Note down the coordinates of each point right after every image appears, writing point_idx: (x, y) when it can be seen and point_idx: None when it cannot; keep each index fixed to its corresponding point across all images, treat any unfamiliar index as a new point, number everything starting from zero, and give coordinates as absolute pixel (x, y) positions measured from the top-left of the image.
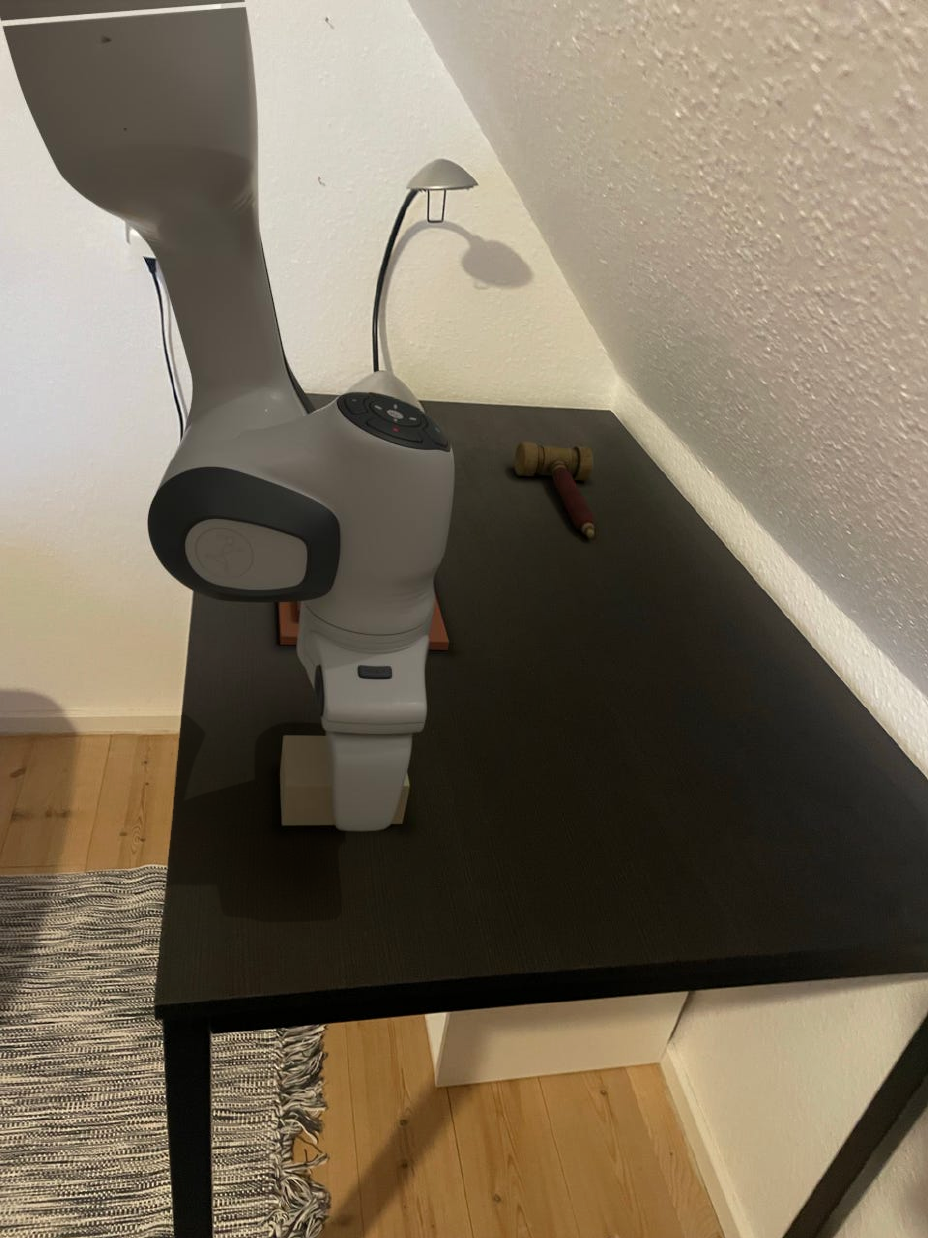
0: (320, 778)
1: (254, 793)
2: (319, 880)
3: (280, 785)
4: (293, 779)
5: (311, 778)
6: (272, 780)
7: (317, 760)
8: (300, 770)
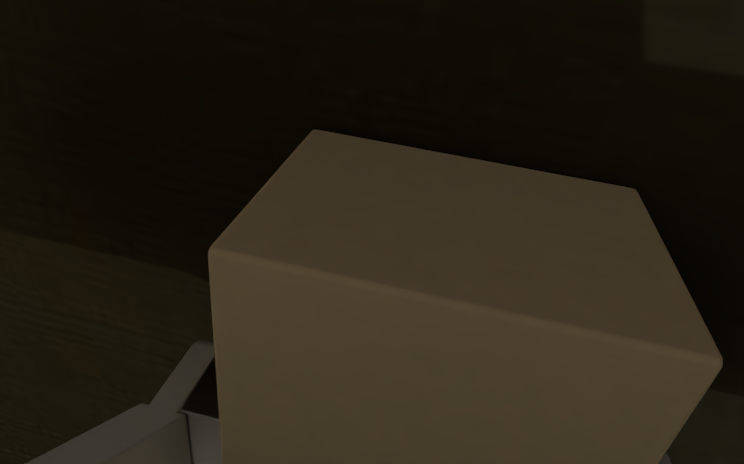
0: (268, 415)
1: (542, 42)
2: (74, 192)
3: (544, 175)
4: (266, 301)
5: (273, 381)
6: (606, 145)
7: (409, 446)
8: (334, 355)
